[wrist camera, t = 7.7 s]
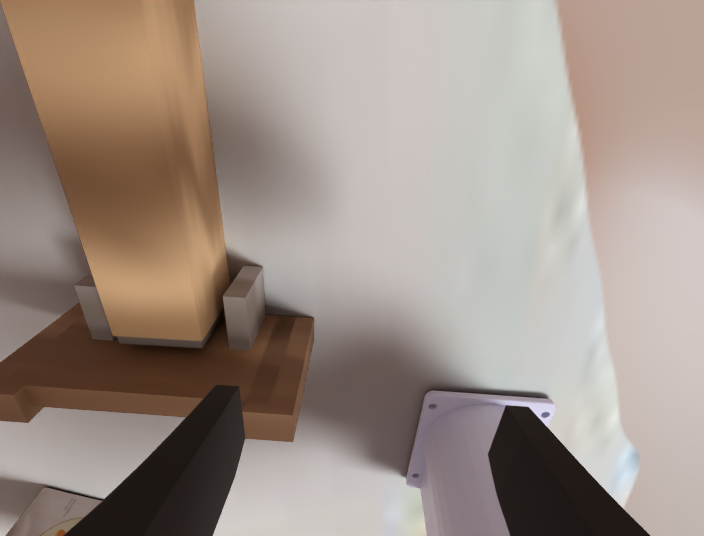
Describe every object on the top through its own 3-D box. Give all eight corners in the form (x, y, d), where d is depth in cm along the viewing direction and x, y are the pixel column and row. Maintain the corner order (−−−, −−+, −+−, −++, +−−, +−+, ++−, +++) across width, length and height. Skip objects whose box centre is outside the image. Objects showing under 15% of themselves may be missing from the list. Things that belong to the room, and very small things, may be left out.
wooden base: (313, 340, 20) (293, 442, 14) (89, 324, 20) (-21, 419, 14) (314, 270, 18) (291, 356, 12) (64, 252, 18) (-77, 330, 12)
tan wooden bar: (233, 301, 19) (203, 349, 16) (161, 297, 19) (115, 344, 16) (190, -36, 13) (121, -84, 9) (79, -43, 13) (-31, -92, 9)
